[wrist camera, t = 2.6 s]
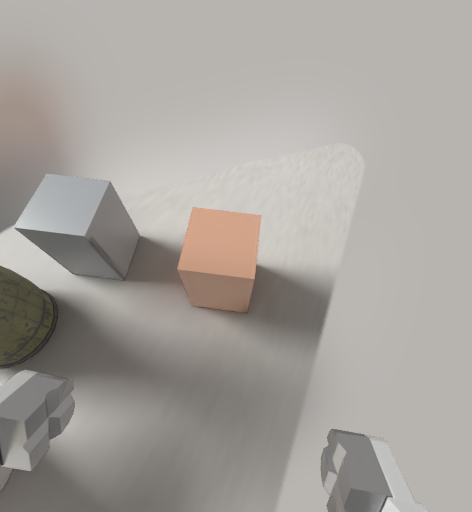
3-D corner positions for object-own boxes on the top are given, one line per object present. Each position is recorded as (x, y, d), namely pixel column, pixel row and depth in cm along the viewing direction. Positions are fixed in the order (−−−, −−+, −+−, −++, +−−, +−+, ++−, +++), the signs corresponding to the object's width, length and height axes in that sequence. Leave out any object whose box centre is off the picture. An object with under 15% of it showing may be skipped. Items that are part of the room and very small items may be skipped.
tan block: (247, 313, 30) (254, 279, 22) (191, 305, 31) (177, 269, 22) (252, 263, 33) (261, 215, 25) (202, 256, 34) (192, 207, 25)
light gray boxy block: (124, 280, 32) (84, 236, 23) (72, 273, 32) (13, 227, 23) (140, 235, 35) (109, 180, 26) (92, 229, 35) (46, 173, 26)
